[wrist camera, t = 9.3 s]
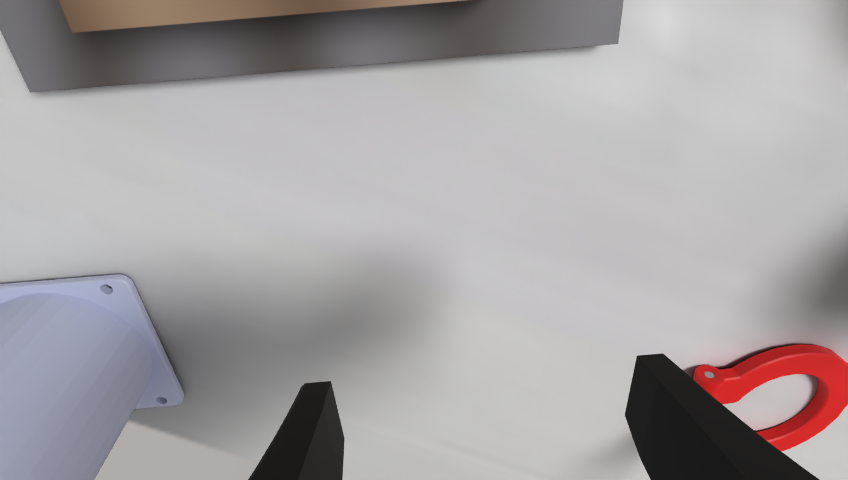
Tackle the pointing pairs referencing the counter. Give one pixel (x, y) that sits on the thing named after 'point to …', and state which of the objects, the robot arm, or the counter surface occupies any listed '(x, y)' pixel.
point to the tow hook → (832, 373)
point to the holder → (278, 35)
